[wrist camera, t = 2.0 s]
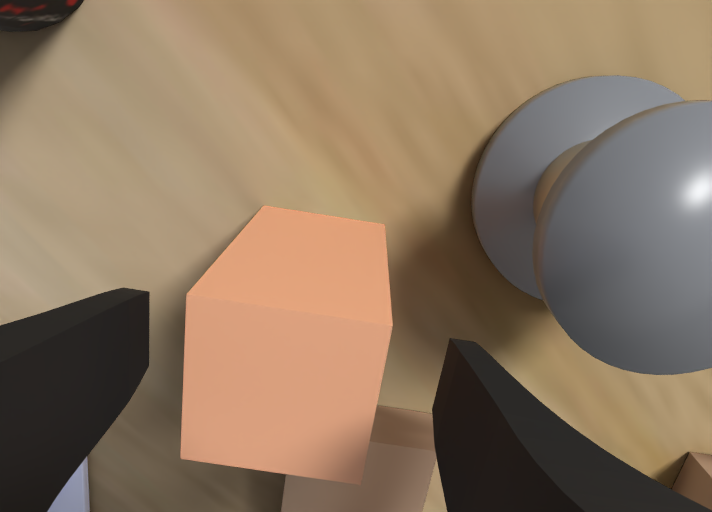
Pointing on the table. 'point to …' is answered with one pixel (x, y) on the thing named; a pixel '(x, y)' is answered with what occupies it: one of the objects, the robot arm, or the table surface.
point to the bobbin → (607, 218)
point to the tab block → (288, 347)
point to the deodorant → (34, 13)
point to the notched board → (423, 472)
